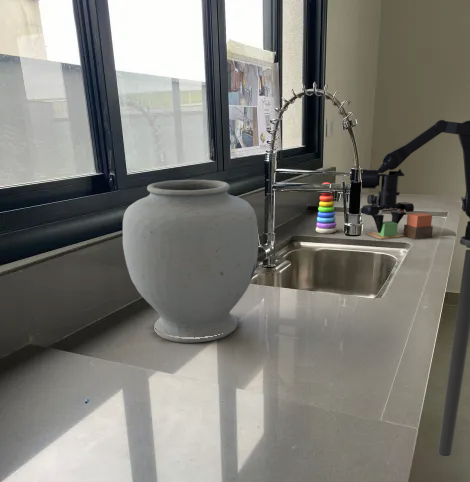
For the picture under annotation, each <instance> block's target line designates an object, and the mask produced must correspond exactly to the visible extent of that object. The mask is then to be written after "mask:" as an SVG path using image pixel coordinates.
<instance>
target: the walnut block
mask: <svg viewBox="0 0 470 482" xmlns="http://www.w3.org/2000/svg"><path fill="white" fill-rule="evenodd" d="M433 229H434V226H433V225H431V226H428V227H418V228H416V227H413V226H409V225H407V223H405V224H404V225H403V234H402V235H405V237H407V238H410V239H413V240H419V239H420V240H421V239H428V238H429V239H430V238H433V231H434V230H433Z"/></svg>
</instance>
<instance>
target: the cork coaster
mask: <svg viewBox="0 0 470 482" xmlns="http://www.w3.org/2000/svg"><path fill="white" fill-rule="evenodd" d="M366 235H369V236H371V237H374V238H376V239H379V240H385V239H386V240H387V239H397V238H404V237H405V238H406V236H405V235H403V234H402V233H399V232H397V236H385V237H383V236H381V235H379V234H378V231H372V232H366Z"/></svg>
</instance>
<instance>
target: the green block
mask: <svg viewBox="0 0 470 482" xmlns="http://www.w3.org/2000/svg"><path fill="white" fill-rule="evenodd" d="M398 225H399V223H395V222H393V221H392V220H389V221H388V220H387V221H383V224H382V229H381V233H378V234H379V235H381V236H383V237H385V236H397V233H398Z"/></svg>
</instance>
